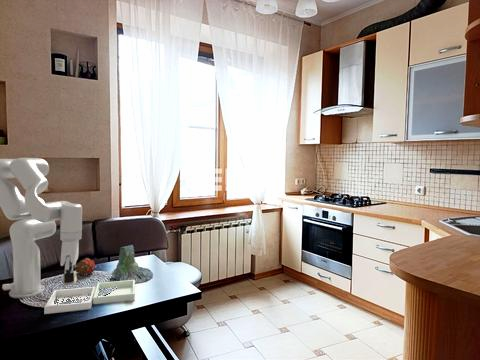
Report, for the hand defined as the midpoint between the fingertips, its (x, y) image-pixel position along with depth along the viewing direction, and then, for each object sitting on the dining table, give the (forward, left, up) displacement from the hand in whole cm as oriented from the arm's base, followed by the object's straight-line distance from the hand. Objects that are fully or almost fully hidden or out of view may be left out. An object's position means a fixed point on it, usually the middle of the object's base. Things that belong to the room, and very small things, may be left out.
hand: (70, 279), depth 126 cm
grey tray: (+1, -1, -10) cm, 10 cm away
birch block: (0, 0, -1) cm, 1 cm away
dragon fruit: (+1, +33, -10) cm, 35 cm away
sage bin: (+17, +3, -10) cm, 20 cm away
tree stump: (+23, +24, -10) cm, 34 cm away
